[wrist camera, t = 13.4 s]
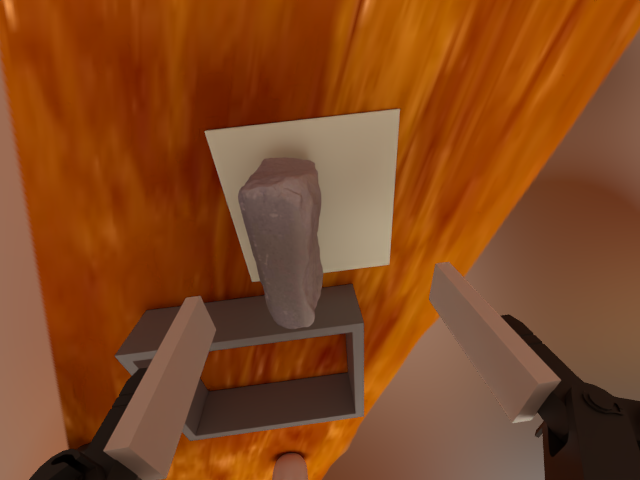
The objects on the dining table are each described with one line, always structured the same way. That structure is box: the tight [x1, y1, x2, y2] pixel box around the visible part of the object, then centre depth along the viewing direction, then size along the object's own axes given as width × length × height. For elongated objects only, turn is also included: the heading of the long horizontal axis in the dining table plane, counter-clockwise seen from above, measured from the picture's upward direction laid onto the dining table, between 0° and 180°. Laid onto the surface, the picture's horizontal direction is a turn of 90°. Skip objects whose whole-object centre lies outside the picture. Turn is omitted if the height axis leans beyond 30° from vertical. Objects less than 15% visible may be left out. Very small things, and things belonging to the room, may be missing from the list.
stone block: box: [238, 157, 323, 329], centre depth 19 cm, size 12×5×10 cm, turn 3°
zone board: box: [204, 109, 400, 282], centre depth 24 cm, size 16×16×1 cm
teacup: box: [272, 453, 308, 480], centre depth 54 cm, size 10×8×5 cm
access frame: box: [115, 284, 364, 441], centre depth 32 cm, size 25×20×6 cm
